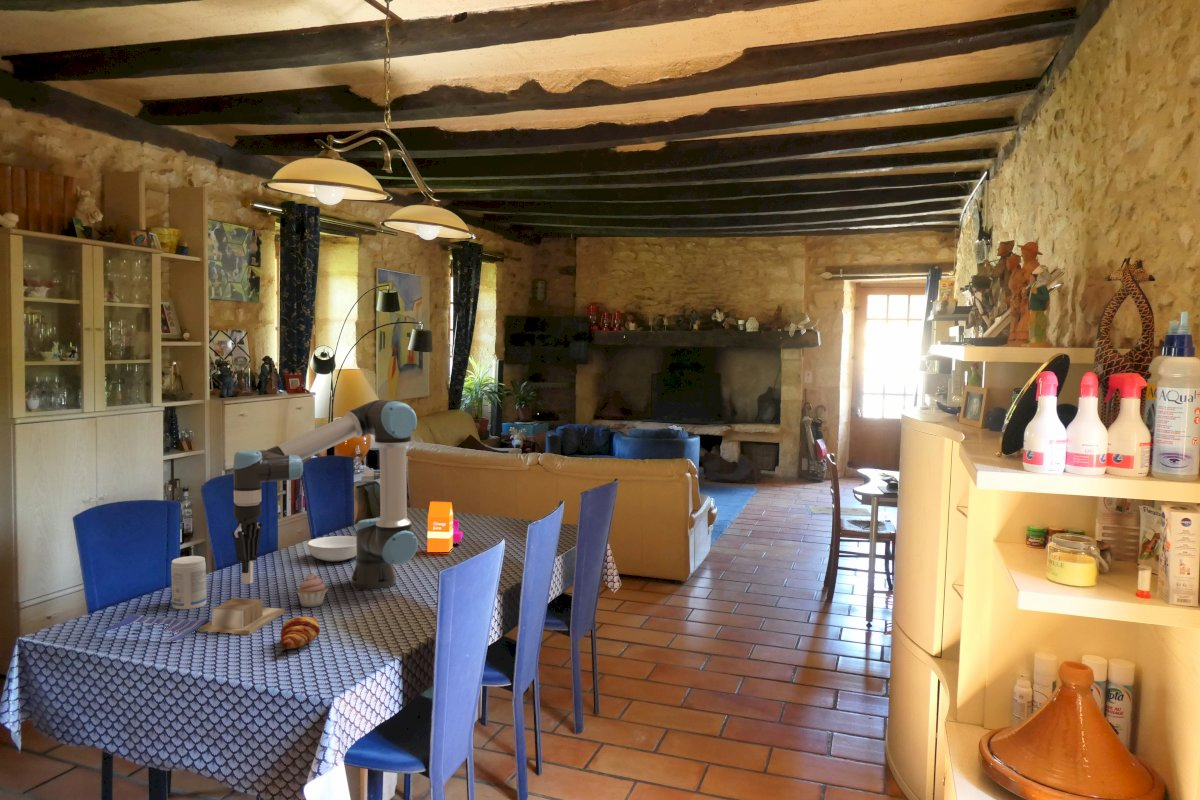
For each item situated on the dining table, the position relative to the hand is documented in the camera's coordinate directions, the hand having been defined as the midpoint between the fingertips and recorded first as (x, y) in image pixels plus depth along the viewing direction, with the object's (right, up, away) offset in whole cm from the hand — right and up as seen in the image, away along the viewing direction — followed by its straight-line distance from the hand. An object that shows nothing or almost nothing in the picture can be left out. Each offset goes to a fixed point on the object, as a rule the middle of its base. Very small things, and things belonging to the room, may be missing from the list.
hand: (247, 582), depth 240 cm
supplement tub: (-23, -10, +12) cm, 28 cm away
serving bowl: (+2, -8, +73) cm, 74 cm away
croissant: (+24, -13, -17) cm, 32 cm away
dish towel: (-22, -12, -11) cm, 27 cm away
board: (0, -11, -2) cm, 11 cm away
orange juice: (+39, -7, +90) cm, 98 cm away
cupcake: (+13, -11, +16) cm, 23 cm away
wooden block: (0, -7, +1) cm, 7 cm away
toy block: (+42, -7, +109) cm, 117 cm away
